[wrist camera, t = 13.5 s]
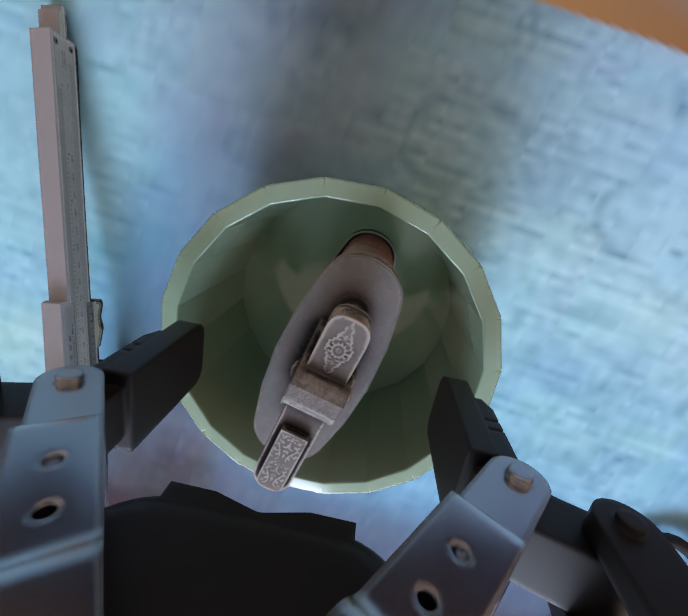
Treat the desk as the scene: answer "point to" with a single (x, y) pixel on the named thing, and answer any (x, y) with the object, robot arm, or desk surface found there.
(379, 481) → the pencil cup
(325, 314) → the lighter
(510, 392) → the desk surface
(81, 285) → the caliper
